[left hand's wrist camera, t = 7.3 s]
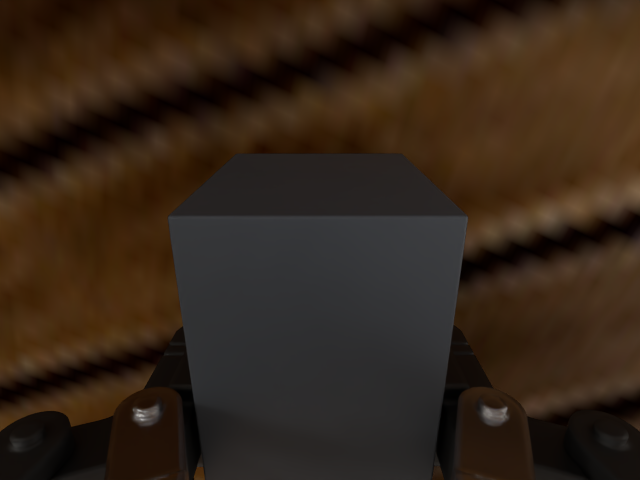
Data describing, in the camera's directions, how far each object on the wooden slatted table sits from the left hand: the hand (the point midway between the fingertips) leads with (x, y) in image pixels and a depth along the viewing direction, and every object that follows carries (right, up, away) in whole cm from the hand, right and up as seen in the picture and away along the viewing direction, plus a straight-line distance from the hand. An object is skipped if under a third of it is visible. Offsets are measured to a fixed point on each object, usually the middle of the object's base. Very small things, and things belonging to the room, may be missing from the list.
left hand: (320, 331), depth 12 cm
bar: (0, -27, +12) cm, 29 cm away
